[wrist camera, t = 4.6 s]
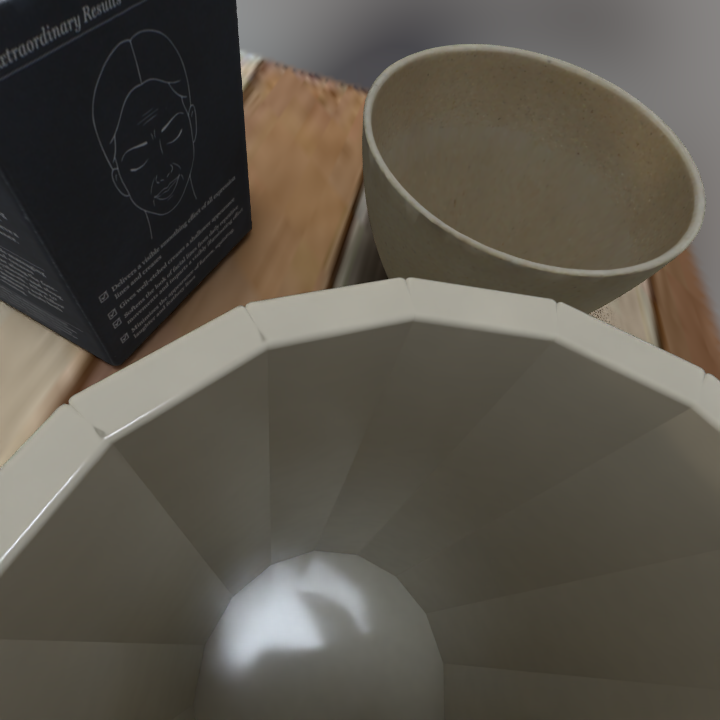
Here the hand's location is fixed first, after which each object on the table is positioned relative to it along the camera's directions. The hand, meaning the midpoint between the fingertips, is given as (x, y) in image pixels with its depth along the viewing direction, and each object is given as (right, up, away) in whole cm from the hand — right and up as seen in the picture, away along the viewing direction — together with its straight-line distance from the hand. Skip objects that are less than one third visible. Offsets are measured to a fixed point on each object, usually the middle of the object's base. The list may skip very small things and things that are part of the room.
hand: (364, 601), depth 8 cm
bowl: (+4, +6, +12) cm, 15 cm away
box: (-9, +7, +11) cm, 16 cm away
